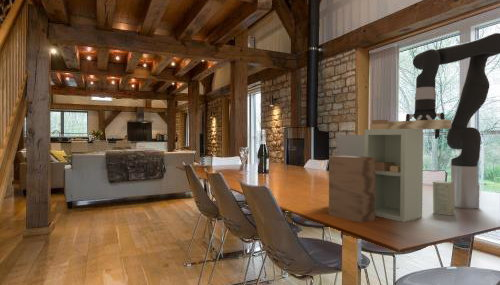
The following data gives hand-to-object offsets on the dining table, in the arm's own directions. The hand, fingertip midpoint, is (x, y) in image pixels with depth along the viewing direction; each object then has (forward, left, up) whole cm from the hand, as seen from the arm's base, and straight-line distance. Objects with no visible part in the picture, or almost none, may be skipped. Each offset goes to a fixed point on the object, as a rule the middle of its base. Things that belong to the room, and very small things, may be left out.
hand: (424, 138), depth 134 cm
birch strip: (+15, +14, +3) cm, 21 cm away
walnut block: (+36, +13, -29) cm, 48 cm away
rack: (+20, +11, -29) cm, 36 cm away
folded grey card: (+27, -7, -29) cm, 40 cm away
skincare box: (-1, +10, -29) cm, 31 cm away
